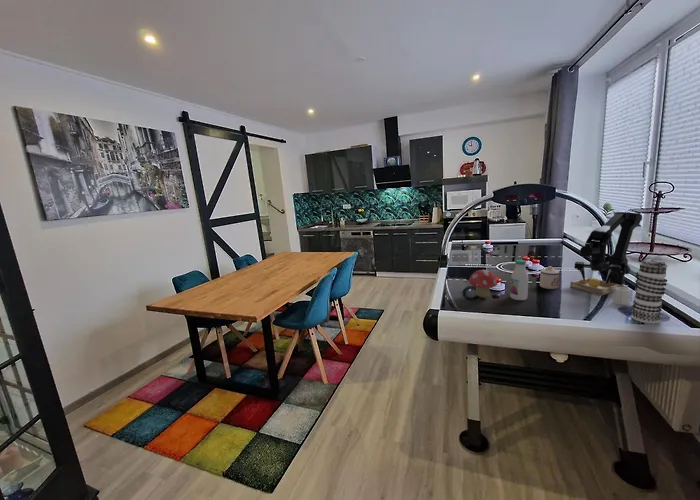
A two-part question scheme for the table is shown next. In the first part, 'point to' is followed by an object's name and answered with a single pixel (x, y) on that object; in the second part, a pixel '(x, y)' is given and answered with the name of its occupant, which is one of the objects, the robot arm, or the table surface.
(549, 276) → the teacup with lid
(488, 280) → the decorative mushroom
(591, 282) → the ball
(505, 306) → the table surface
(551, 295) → the table surface
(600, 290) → the tray
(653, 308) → the decorative candle
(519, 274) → the milk bottle
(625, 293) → the cup
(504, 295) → the table surface
